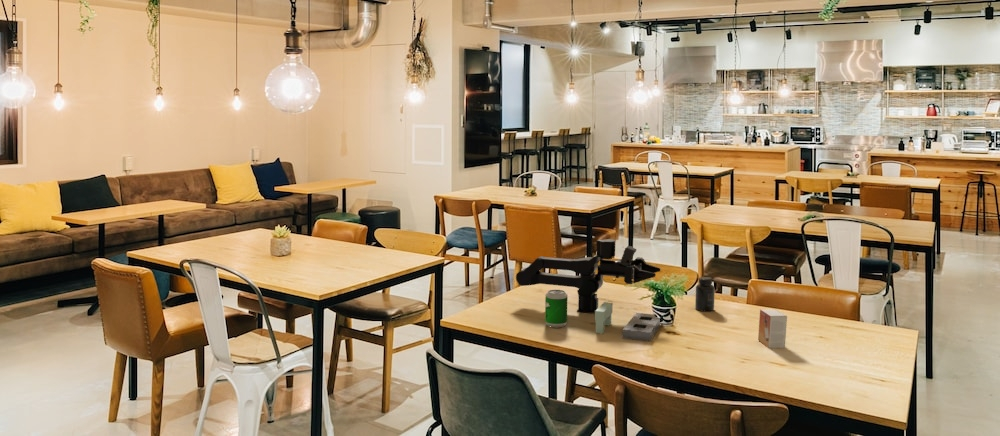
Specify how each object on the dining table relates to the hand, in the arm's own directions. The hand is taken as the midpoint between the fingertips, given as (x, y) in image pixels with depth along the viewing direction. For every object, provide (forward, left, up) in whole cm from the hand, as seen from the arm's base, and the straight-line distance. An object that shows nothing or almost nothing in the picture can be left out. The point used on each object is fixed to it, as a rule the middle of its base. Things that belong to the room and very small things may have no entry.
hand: (657, 272), depth 275 cm
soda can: (-30, -23, -17) cm, 42 cm away
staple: (-14, -20, -17) cm, 30 cm away
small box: (+40, -17, -17) cm, 46 cm away
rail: (-1, -18, -17) cm, 24 cm away
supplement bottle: (+15, +18, -17) cm, 29 cm away
